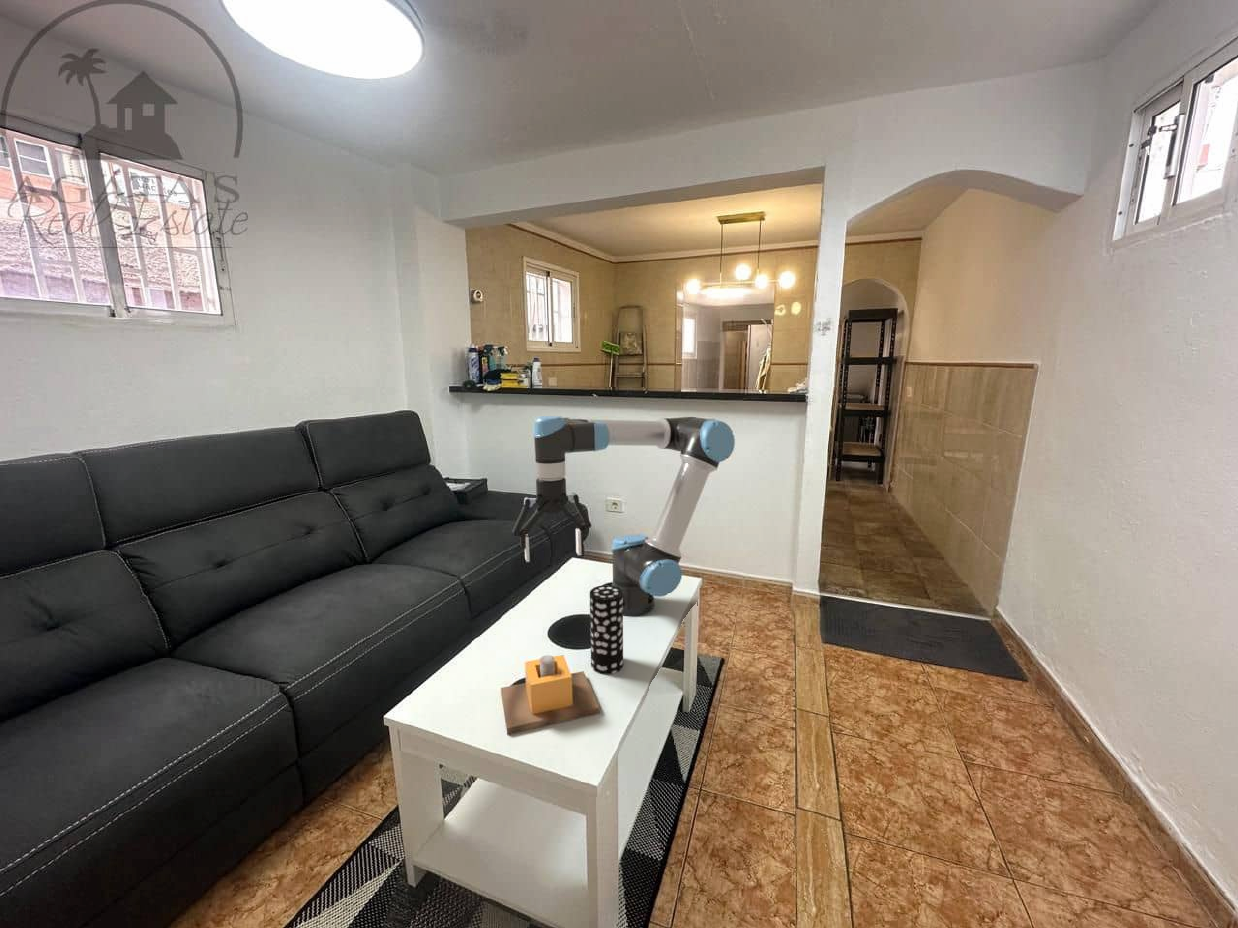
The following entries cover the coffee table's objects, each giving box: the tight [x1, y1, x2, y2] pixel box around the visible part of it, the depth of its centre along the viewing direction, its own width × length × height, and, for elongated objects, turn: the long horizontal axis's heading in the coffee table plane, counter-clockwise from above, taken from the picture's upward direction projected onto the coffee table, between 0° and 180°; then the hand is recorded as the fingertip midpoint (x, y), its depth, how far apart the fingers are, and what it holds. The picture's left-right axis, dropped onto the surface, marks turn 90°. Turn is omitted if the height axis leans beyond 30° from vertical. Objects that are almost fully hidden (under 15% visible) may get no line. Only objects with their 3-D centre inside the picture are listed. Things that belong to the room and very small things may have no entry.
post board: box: [500, 654, 600, 736], centre depth 110 cm, size 20×14×11 cm
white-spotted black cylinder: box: [589, 584, 624, 675], centre depth 124 cm, size 8×8×20 cm
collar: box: [524, 654, 573, 714], centre depth 110 cm, size 9×9×7 cm
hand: (553, 556), depth 128 cm, fingers open, 13 cm apart
